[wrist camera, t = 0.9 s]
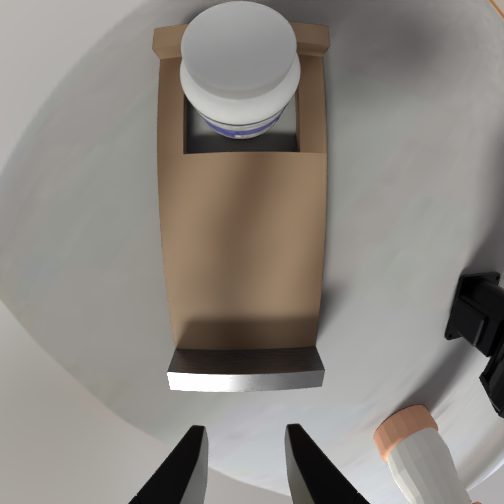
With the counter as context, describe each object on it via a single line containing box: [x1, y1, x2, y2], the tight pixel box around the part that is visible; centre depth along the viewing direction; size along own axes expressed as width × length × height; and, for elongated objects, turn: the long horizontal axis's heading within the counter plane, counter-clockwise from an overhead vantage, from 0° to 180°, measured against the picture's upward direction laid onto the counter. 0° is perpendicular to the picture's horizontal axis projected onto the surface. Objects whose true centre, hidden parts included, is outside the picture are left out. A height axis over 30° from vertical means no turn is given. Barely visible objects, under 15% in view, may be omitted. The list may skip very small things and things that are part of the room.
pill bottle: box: [180, 1, 300, 139], centre depth 12 cm, size 5×5×9 cm
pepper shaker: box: [374, 405, 481, 504], centre depth 15 cm, size 7×7×19 cm
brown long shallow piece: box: [152, 22, 330, 391], centre depth 15 cm, size 10×22×4 cm, turn 1°
